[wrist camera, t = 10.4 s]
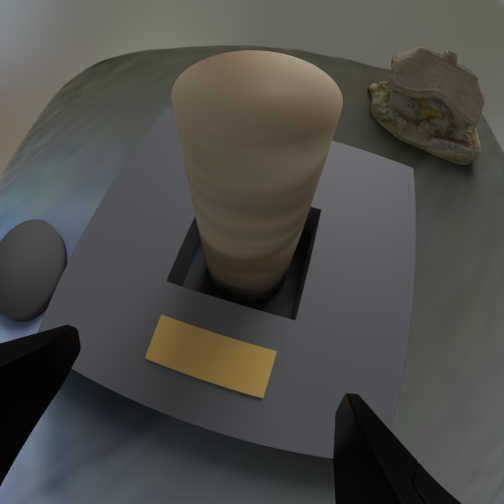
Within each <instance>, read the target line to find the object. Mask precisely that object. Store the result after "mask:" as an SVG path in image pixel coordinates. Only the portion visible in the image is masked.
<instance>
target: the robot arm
mask: <svg viewBox="0 0 504 504" xmlns="http://www.w3.org/2000/svg"><path fill="white" fill-rule="evenodd" d="M80 350H81V344H80V338H79V332H78V329H77V328H76V327H73V326H71V325H64V326H60V327H57V328H53V329H50V330H46V331H43V332H39V333H36V334H32V335H29V336H25V337H22V338H18V339H15V340H11V341H8V342H4V343H1V344H0V486H1V484H2V482H3V480H4V478H5V477H6V475H7V473H8V471H9V470H10V467H11V466H12V464H13V462H14V460H15V459H16V457H17V455H18V454H19V452H20V450H21V449H22V447H23V445H24V444H25V442H26V440H27V439H28V437H29V435H30V434H31V432H32V431H33V429H34V427H35V426H36V424H37V423H38V421H39V419H40V418H41V416H42V415H43V413H44V412H45V410H46V409H47V407H48V406H49V404H50V403H51V401H52V400H53V398H54V397H55V395H56V394H57V392H58V391H59V389H60V388H61V386H62V384H63V383H64V381H65V379H66V377H67V375H68V374H69V372H70V370H71V368H72V366H73V364H74V362H75V361H76V359H77V357H78V355H79V353H80ZM333 462H334V480H335V503H336V504H461V503H460V502H459V501H458V500H457V499H455V498H454V497H453V496H452V495H451V494H450V493H449V492H447V491H446V490H445V489H444V488H443V487H442V486H441V485H440V484H439V483H438V482H437V481H435V480H434V479H433V477H432V476H431V475H430V474H429V473H428V472H427V471H426V470H425V469H424V468H423V467H422V466H421V464H420V463H418V461H417V460H416V459H415V458H414V457H413V456H412V454H411V453H410V452H409V451H408V450H407V449H406V448H405V447H404V445H403V444H402V443H401V442H400V441H399V440H398V439H397V438H396V436H395V435H394V434H393V433H392V432H391V431H390V430H389V428H388V427H387V426H386V425H385V424H384V423H383V422H382V420H381V419H380V418H379V417H378V416H377V415H376V414H375V412H374V411H373V410H372V409H371V408H370V407H369V406H368V404H367V403H366V402H365V401H364V400H363V399H362V398H361V396H360V395H359V394H355V393H346V394H345V395H344V396H343V398H342V400H341V402H340V404H339V406H338V408H337V411H336V414H335V432H334V450H333Z"/></svg>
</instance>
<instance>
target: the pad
mask: <svg viewBox="0 0 504 504" xmlns="http://www.w3.org/2000/svg"><path fill="white" fill-rule="evenodd" d="M66 266H67V252H66V247H65V243H64V241H63V239H62V237H61V236H60V235H59V233H58V232H57V231H56V230H55V229H54V228H53V227H52V226H51V225H50V224H49V223H47V222H45V221H42V220H29V221H25V222H23V223H21V224H19V225H17V226H16V227H14V228H13V229H12V230H11V231H9V232H8V233H7V234H6V235H5V237H4V238H3V239H2V240H1V242H0V313H1V314H2V315H4V316H6V317H8V318H10V319H12V320H15V321H27V320H31V319H33V318H35V317H37V316H39V315H40V314H41V313H43V312H44V311H45V310H46V309H47V308H48V306H49V303H50V301H51V299H52V296H53V294H54V292H55V289H56V287H57V285H58V283H59V281H60V278H61V276H62V274H63V272H64V270H65V268H66Z"/></svg>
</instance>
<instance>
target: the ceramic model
mask: <svg viewBox="0 0 504 504" xmlns="http://www.w3.org/2000/svg"><path fill="white" fill-rule="evenodd" d="M457 57H458V56H457V54H455V53H451V52H450V51H449V50H445V53H444V54H443V55H441V54H440V53H439V52H437V51H435V50H433V49H431V48H428V47H423V46H419V47H418V48H416V49H412V50H409V51H406V52H402V53H396V54H395V55H393V56H392V63H391V64H392V68H391V71H390V75H389V78H388V82H384V81H383V82H379V83H378V84H375V83H374V84H372V85H370V86H369V88H368V89H369V91H370V94H371V100H372V103H371V114H372V115H373V116H374V118H375V119H376V120H377V121H378V123H380V124H381V125H382V126H383V127H384V128H385V129H387V130H388V131H389V132H390V133H391V134H393V135H394V136H395V137H397V138H398V139H400V140H402V141H404V142H406V143H408V144H410V145H413V146H415V147H417V148H420V149H422V150H424V151H426V152H428V153H431V154H433V155H435V156H438V157H440V158H443V159H445V160H448V161H450V162H453V163H456V164H461V165H468V164H469V163H471V162H474V161H475V160H476V159H477V158H478V157H479V155H480V154H481V147H480V142H479V141H480V140H479V137H478V133H477V129H476V128H475V127H476V125H477V123H478V121H479V118H480V115H481V111H482V108H483V105H484V102H485V100H484V92H483V90H482V88H481V87H480V84H479V82H478V77H477V75H476V74H474V72H473V71H472V70H470V69H469V68H467V67H465V66H464V65H462V64H460V63H457Z"/></svg>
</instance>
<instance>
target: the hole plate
mask: <svg viewBox="0 0 504 504" xmlns="http://www.w3.org/2000/svg"><path fill="white" fill-rule="evenodd" d="M302 231H303V232H306V233H310V234H312V235H311V239H310V243H309V248H308V252H307V256H306V260H305V265H304V269H303V273H302V277H301V281H300V285H299V289H298V293H297V297H296V301H295V304H294V308H293V312H292V316H291V319H288V318H284V317H281V316H277V315H274V314H270V313H267V312H263V311H260V310H256V309H253V308H249V307H246V306H243V305H239V304H236V303H233V302H229V301H226V300H223V299H220V298H216V297H213V296H210V295H207V294H204V293H200V292H197V291H194V290H191V289H188V288H185V287H182V285H183V282H184V280H185V277H186V275H187V272H188V270H189V267H190V265H191V262H192V260H193V257H194V255H195V253H196V250H197V248H198V245H199V243H200V241H201V239H200V234H199V230H198V226H197V221H196V217H195V213H194V208H193V204H192V199H191V195H190V190H189V185H188V181H187V176H186V171H185V166H184V161H183V157H182V152H181V147H180V141H179V136H178V131H177V126H176V121H175V115H174V110H173V108H169V107H167V108H166V109H165V110H164V112H163V113H162V114H161V116H160V117H159V118H158V119H157V121H156V122H155V123H154V125H153V126H152V127H151V129H150V130H149V131H148V133H147V134H146V135H145V137H144V138H143V139H142V141H141V142H140V144H139V145H138V146H137V148H136V149H135V151H134V152H133V153H132V155H131V156H130V158H129V159H128V161H127V162H126V164H125V165H124V167H123V168H122V170H121V171H120V173H119V174H118V176H117V177H116V179H115V180H114V182H113V184H112V185H111V187H110V188H109V190H108V192H107V193H106V195H105V196H104V198H103V200H102V201H101V203H100V205H99V206H98V208H97V210H96V212H95V213H94V215H93V217H92V218H91V220H90V222H89V224H88V226H87V227H86V229H85V231H84V233H83V235H82V237H81V238H80V240H79V242H78V244H77V246H76V248H75V250H74V252H73V254H72V256H71V258H70V260H69V262H68V264H67V266H66V268H65V270H64V272H63V274H62V276H61V278H60V281H59V283H58V285H57V287H56V289H55V292H54V294H53V296H52V299H51V301H50V303H49V306H48V308H47V310H46V313H45V315H44V318H43V320H42V323H41V325H40V328H39V331H38V333H39V332H43V331H46V330H50V329H53V328H57V327H60V326H64V325H71V326H73V327H76V328H77V329H78V332H79V338H80V344H81V350H80V353H79V355H78V357H77V359H76V361H75V362H74V364H73V366H72V368H71V369H73V370H75V371H76V372H78V373H80V374H82V375H84V376H85V377H87V378H89V379H91V380H93V381H95V382H97V383H99V384H101V385H102V386H104V387H106V388H108V389H110V390H112V391H114V392H117V393H119V394H121V395H123V396H125V397H127V398H129V399H131V400H134V401H136V402H138V403H140V404H143V405H145V406H147V407H150V408H152V409H154V410H157V411H159V412H162V413H164V414H167V415H169V416H172V417H174V418H177V419H180V420H182V421H185V422H188V423H191V424H193V425H196V426H199V427H202V428H205V429H208V430H211V431H214V432H217V433H221V434H224V435H227V436H231V437H234V438H238V439H241V440H245V441H249V442H252V443H256V444H260V445H264V446H269V447H273V448H277V449H282V450H287V451H291V452H297V453H302V454H307V455H313V456H319V457H326V458H333V450H334V432H335V414H336V411H337V408H338V406H339V404H340V402H341V400H342V398H343V396H344V395H345V394H346V393H355V394H359V395H360V396H361V398H362V399H363V400H364V401H365V402H366V403H367V404H368V406H369V407H370V408H371V409H372V410H373V411H374V412H375V414H376V415H377V416H378V417H379V418H380V419H381V420H382V422H383V423H384V424H385V425H386V426H387V427H388V428H389V430H390V431H391V427H392V423H393V419H394V415H395V410H396V406H397V402H398V397H399V392H400V387H401V382H402V377H403V372H404V366H405V360H406V354H407V347H408V340H409V332H410V324H411V315H412V304H413V293H414V278H415V255H416V207H415V184H414V169H413V168H411V167H409V166H406V165H404V164H401V163H398V162H396V161H393V160H390V159H387V158H384V157H382V156H379V155H376V154H373V153H370V152H367V151H364V150H361V149H358V148H354V147H351V146H348V145H345V144H342V143H338V142H335V141H332V143H331V146H330V149H329V152H328V155H327V159H326V162H325V165H324V168H323V171H322V174H321V177H320V180H319V183H318V186H317V189H316V192H315V195H314V198H313V201H312V204H311V207H310V210H309V212H308V215H307V218H306V221H305V224H304V227H303V230H302Z"/></svg>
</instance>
